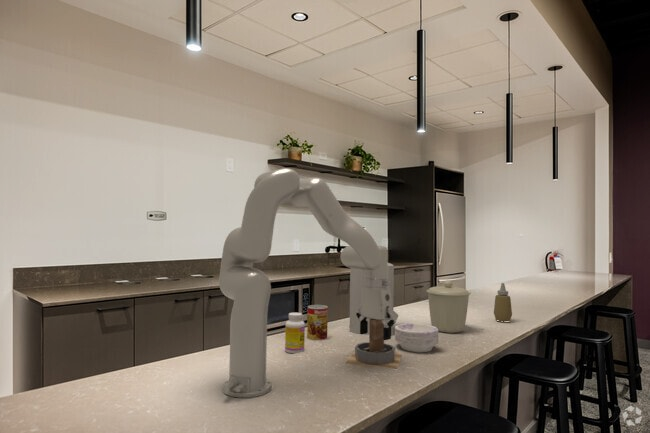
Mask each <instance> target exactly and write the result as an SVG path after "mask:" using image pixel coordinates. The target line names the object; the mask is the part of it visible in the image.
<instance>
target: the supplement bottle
mask: <svg viewBox="0 0 650 433" xmlns="http://www.w3.org/2000/svg"><path fill="white" fill-rule="evenodd" d="M302 318H303V314H302V312H289V313H288V320H287V321H286V322H285V331H284V332H285V336H284V337H285V338H284V340H285V342H284V348H285V349H284V350H285V352H287V353H288V354H297V353H298V354H299V353H302V352H304V351H305V335H306V334H305V333H306V332H305V331H306V330H305V328H306V324H305V321H303V320H302Z"/></svg>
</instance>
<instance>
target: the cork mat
mask: <svg viewBox="0 0 650 433" xmlns="http://www.w3.org/2000/svg"><path fill="white" fill-rule="evenodd" d="M402 356H403V353H399V352H398V353H397V352H395V360H394V362H392V363H389V364H382V365H375V364H367V363H363V362H360V361H358V360H356V357H355V350H354V351H353V353H351V355H350V357H349V358H348V359H347V360H346V362H345V364H347V365H348V364H349V365H357V366H367V367H375V368H377V367H378V368H385V369H395V370H397V369H398V368H399V364H400V362H401V359H402Z"/></svg>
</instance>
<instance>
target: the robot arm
mask: <svg viewBox="0 0 650 433" xmlns="http://www.w3.org/2000/svg"><path fill="white" fill-rule="evenodd" d="M253 186H254V187H253V189H252V190H251V192H250V193H249V195H248V197H247V199H246V202H245V206H244V209H243V210H244V211H243V216H242V223H241V226H239V227H237V228H235V229H233V230H231V231H230V232H229V233H228V235H227V236H226V238H225V241H224V244H223V248H222V254H221V255H222V256H221V262H220V267H219V268H220V269H219V277H218V285H219V289H220V291H221V293H222V294H223V295H224V296H225V297H226V298H228V299H230V300H233V306H232V308H231V313H230V323H229V325H230V326H229V332H230V334H229V367H228V369H229V372H228V373H229V374H228V375H229V376H228V380H227V381H225V382H224V384H223V385H222V389H221V390H222V393H223V394H225V395H227V396H230V397H234V398H242V399H243V398H254V397H255V398H256V397H260V396H264V395H265V394H267V393H269V392H270V391H271V390H272V388H273V385H272V384H273V383H272V381H271V380H270V379H268V378H267V346H268V345H267V342H268V339H267V338H268V310H269V305H270V304H269V302H270V298H271V293H272V292H271V291H272V285H271V281H270V279H269V277H268V276H267V274H266V273H265V272H264V271H262V270H261V269H259V268H254V267H253V266H254V263H255V264H256V263H257V264H258V263H262V262H264V261H266V260H267V259H268V257H269V256H270V254H271V250H272V245H273V236H274V229H275V228H274V227H275V221H276V218H277V217H276V216H277V212H278V210H279V208H280V206H281V205H284V206H289V207H298V208H301V207H307V208H308V209H309V212H310V213H312V215H313V216H314V218H315V220H316V221H317V223H318V224H319V227H321V228H322V230H323V231H324V232H325V233H326V234H328V235H330V236H332V237H334V238H336V239H338V240H341V241H343V242H344V243H345V244H346V245H348V246H345V247H344V248H343V249H342V251H341V253H340V261H341V263H342V265H344V266H345V267H346V268H349V269H350V268H353V269H361V270H364V287H363V290H362V296H361V304H360V305H358V306H356V307H355V311H356V316H357V317H358V320H359V322H360V334H359V335H364V334H366V333H368V321H366V320H367V319H368V318H370V319H375V320H380V321H382V322H383V324H384V326H385V327H384V328H383V339H384V341H388V340H391V339H392V336H391V327H392V326H393V327H394V325H395V324H396V323H397V320H398V318H399V313H397V312H396V311H394V309H393V310H392V300H391V293H390V289H388V288H387V286H389V285H390V282H388V281H387V278H388V263H389V262H388V260H389V259H388V258H389V257H388V256H389V252H388V250H389V249H388V248H387V247H386V246H384V245H378V244H377V242H376V241H375V239H374V238H373V236H372V235H371V234H370V233H369V231H368V230H366V228H364V227H363V226H362V225H360V224H359V223H358V222H357V221H356V220H354V219H353V218H351V217H350V216H349V215H348V214H347V213H346V211H345V210H344V208H343V206H342V205H341V204H340V201H339V200H338V199H337V197H336V195H335V194H334V193H333V191H332V190H331V188H330V187H329V186H328V184H327V182H326V181H325V180H324V179H323V178H320V177H308V178H302V179H301V177H300V175H299V174H298V172H297V171H295V170H294V169H291V168H287V167H286V168H285V167H284V168H279V169H274V170H270V171H267V172H266V171H265V172H263V173H261V174H259V175H258V176H257V177H256V179H255V181H254V184H253ZM360 309H361V312H360ZM390 319H391V320H390ZM387 322H388V323H387Z"/></svg>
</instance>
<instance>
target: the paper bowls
mask: <svg viewBox="0 0 650 433" xmlns="http://www.w3.org/2000/svg"><path fill="white" fill-rule="evenodd" d="M439 332H440V331H438V328H436V327H434V326H432V324H431V325H430V324H423V323H401V324H397V325H395V326H394V340H395V342H397V343H398V344H399V345H400V348H402V349H403V350H405V351H408V352H413V353H426V352H431V351H432V349H433V348H434V346H435V345H438V344H439Z"/></svg>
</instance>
